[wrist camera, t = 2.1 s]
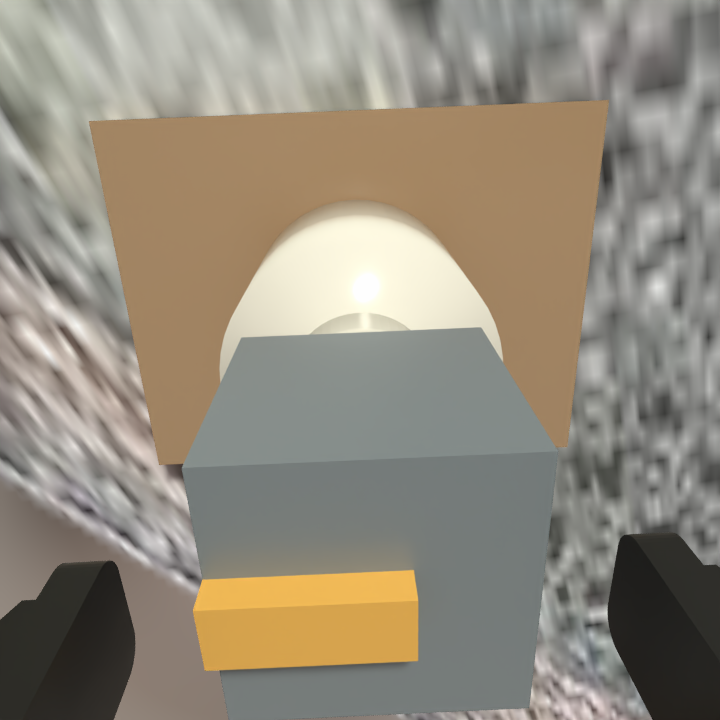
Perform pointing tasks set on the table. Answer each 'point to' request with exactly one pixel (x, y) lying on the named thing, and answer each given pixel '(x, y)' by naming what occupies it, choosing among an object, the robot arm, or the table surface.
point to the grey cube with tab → (370, 526)
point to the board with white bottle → (352, 238)
